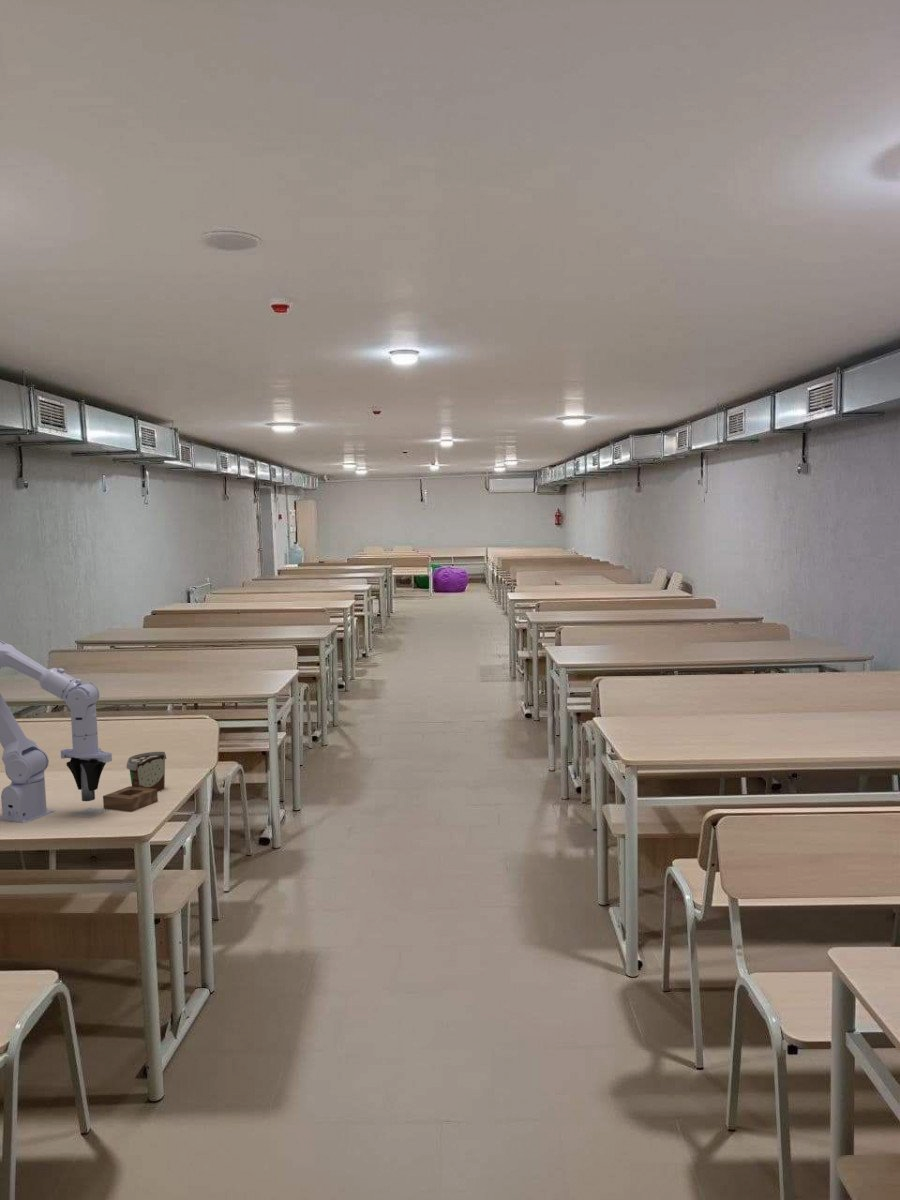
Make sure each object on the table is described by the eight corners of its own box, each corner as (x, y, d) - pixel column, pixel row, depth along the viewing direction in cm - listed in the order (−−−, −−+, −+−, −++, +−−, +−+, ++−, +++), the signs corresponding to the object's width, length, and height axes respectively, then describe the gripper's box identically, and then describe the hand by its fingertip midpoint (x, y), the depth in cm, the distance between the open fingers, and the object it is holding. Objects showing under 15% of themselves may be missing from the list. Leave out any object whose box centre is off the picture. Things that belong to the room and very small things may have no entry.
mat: (89, 819, 211) (89, 817, 211) (70, 816, 214) (70, 815, 214) (108, 811, 217) (108, 810, 217) (90, 809, 219) (89, 808, 219)
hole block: (131, 813, 215) (131, 799, 215) (103, 809, 219) (102, 795, 219) (157, 802, 223) (157, 789, 223) (130, 799, 227) (129, 786, 227)
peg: (88, 801, 213) (86, 764, 212) (79, 800, 214) (76, 764, 214) (97, 798, 216) (95, 762, 215) (88, 797, 217) (86, 761, 216)
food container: (149, 786, 239) (147, 750, 238) (168, 788, 237) (166, 751, 236) (117, 799, 227) (115, 761, 227) (137, 801, 225) (135, 762, 225)
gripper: (120, 732, 215) (123, 787, 216) (75, 728, 221) (78, 782, 221) (97, 738, 208) (100, 795, 209) (52, 734, 214) (55, 789, 215)
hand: (87, 789), depth 215 cm, fingers closed on peg, 3 cm apart
